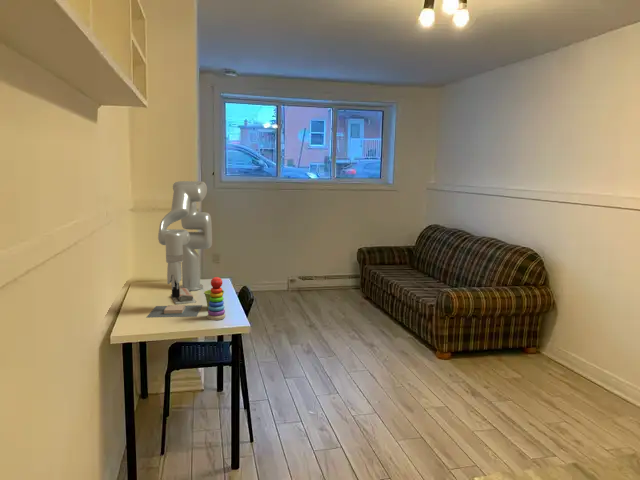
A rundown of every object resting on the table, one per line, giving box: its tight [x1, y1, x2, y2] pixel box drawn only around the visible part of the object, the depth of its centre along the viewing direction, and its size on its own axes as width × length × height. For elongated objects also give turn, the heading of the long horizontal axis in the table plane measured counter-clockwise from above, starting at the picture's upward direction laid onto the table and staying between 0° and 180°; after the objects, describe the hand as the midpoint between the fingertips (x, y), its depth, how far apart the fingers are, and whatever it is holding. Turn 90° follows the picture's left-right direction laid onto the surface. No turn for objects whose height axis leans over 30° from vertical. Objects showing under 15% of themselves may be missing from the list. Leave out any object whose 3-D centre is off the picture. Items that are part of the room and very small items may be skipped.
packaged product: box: [170, 287, 197, 305], centre depth 244 cm, size 18×5×10 cm
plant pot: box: [203, 289, 225, 311], centre depth 227 cm, size 9×9×9 cm
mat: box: [146, 304, 203, 319], centre depth 223 cm, size 18×22×1 cm
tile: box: [164, 304, 186, 315], centre depth 222 cm, size 2×8×8 cm
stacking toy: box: [206, 276, 226, 321], centre depth 213 cm, size 8×8×19 cm
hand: (175, 297), depth 225 cm, fingers closed
